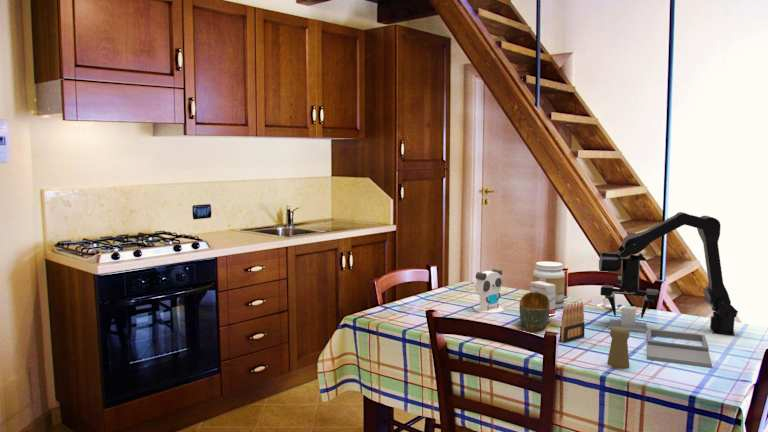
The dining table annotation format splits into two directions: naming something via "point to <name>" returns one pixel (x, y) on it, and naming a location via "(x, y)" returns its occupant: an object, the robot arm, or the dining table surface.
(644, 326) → the slate mat
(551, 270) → the supplement tub
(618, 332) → the brown tapered mill
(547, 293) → the ink box
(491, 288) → the panda figurine
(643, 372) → the dining table surface
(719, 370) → the dining table surface
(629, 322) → the block
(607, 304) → the teacup and saucer
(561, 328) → the ammunition clip
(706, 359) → the gray rectangular frame
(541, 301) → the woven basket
